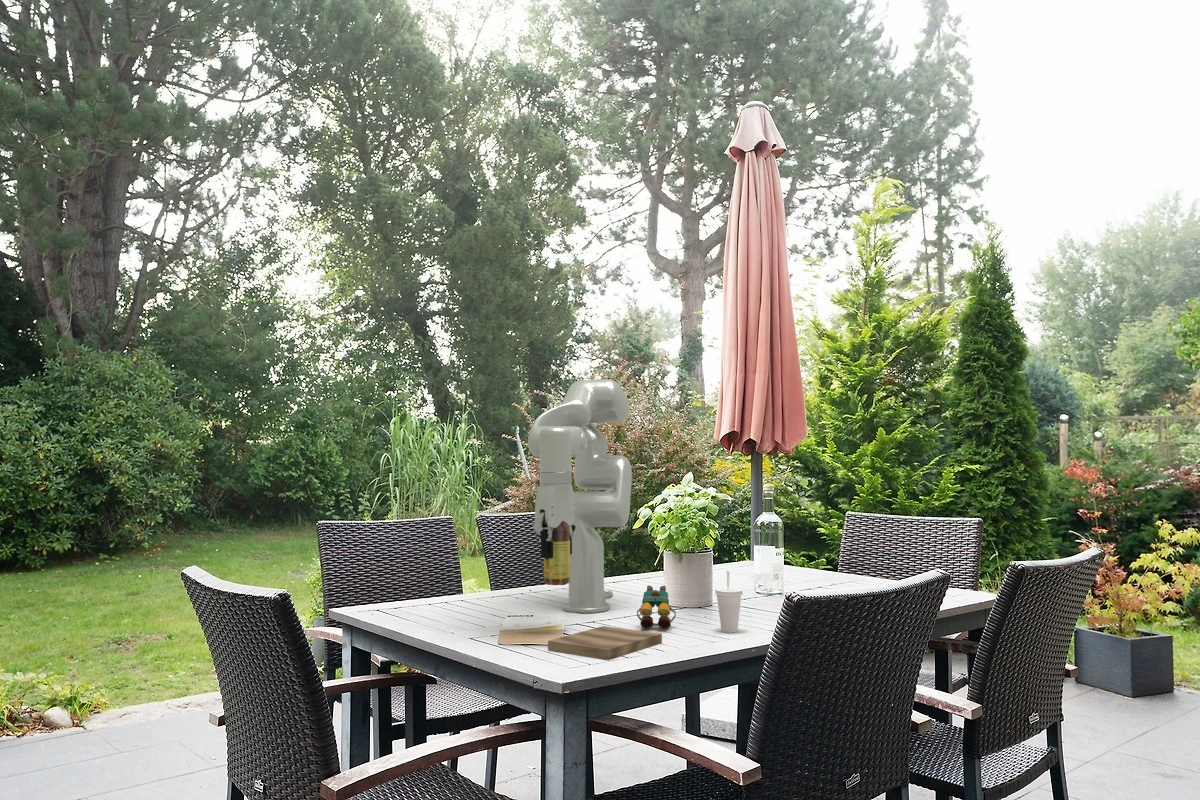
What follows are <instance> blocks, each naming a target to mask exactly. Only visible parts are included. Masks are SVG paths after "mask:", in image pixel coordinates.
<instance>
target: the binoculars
mask: <svg viewBox="0 0 1200 800" xmlns="http://www.w3.org/2000/svg"><path fill="white" fill-rule="evenodd" d="M666 589H667V586H666V585H661V586H660V587H659V590H657V589H654V588H653V586H652V585H647V586H646V591H644V592H643V597H642V600H641V603H642V604H641V605H640V607H639V608H638V609H637V611H636V616H637V618H638V619H639V621H640V622H639V623H640V627H641V628H642V629H644V630H650V629H652V628H653V627H654V626H655V627H659V628H660V629H662V630H668V629H670V628H671V626H672V622H673V621H674V620H675V618H676V614H677V612H676V611H675V610H674V608H673V607H672V605H670V600H669V593H668V592H667V591H666ZM655 607H657V615H658V616H660V617H659V618H658V621H657V623H656V622H655V623H654V620H653V619H654V618H653V617H652V615H653V608H655ZM671 612H673V613H674V615H673V617H672V618H670V617H669V616H670V614H671ZM639 613H640V615H641V616H642V617H640V615H639Z"/></svg>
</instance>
